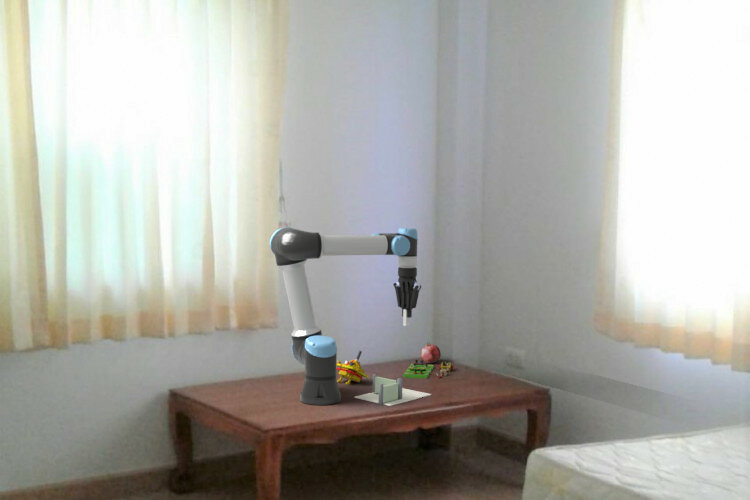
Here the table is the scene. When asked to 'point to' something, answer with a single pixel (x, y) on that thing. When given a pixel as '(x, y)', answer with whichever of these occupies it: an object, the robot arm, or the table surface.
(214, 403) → the table surface
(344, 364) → the toy
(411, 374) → the toy garden set
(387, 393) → the fence fixed
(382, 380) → the fence panel
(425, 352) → the fruit
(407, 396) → the card
